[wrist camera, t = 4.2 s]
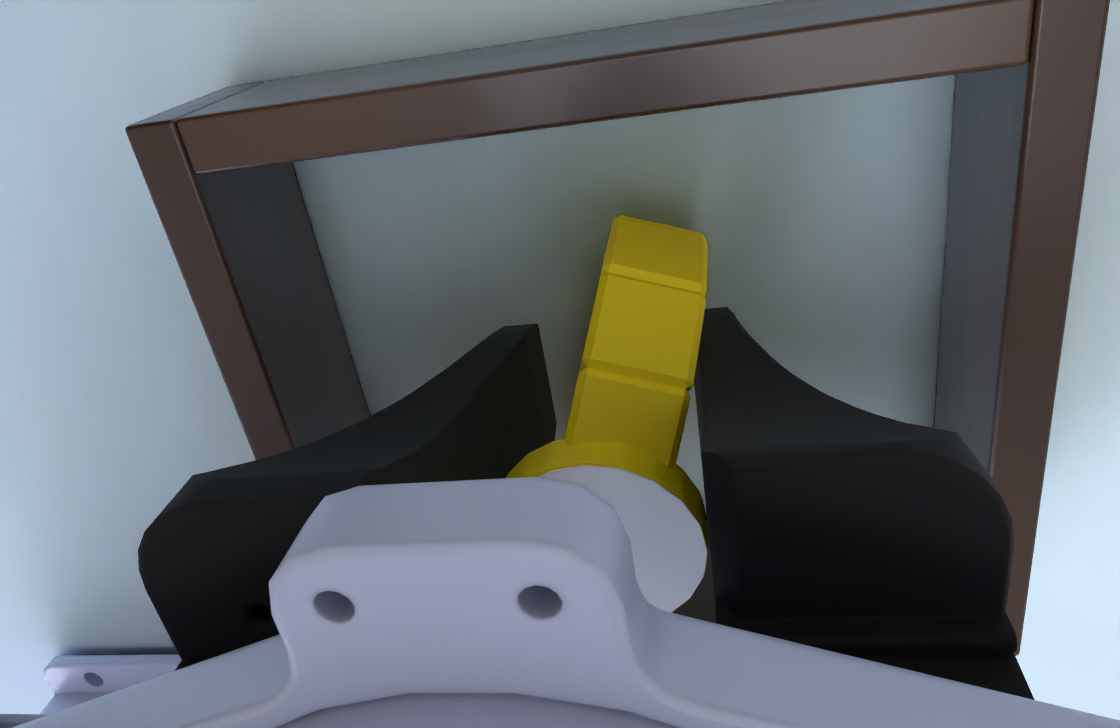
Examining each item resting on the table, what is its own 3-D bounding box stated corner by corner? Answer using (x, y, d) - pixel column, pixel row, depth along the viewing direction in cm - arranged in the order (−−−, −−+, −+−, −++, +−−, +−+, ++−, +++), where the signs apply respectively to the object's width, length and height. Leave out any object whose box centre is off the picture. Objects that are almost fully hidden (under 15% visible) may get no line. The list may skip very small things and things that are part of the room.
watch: (584, 159, 14) (528, 306, 9) (745, 193, 14) (784, 362, 9) (528, 444, 17) (460, 680, 12) (660, 473, 17) (652, 724, 12)
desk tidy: (382, 560, 19) (334, 663, 16) (225, 86, 14) (121, 127, 12) (968, 541, 17) (1020, 657, 14) (1020, -36, 12) (1116, -20, 9)
